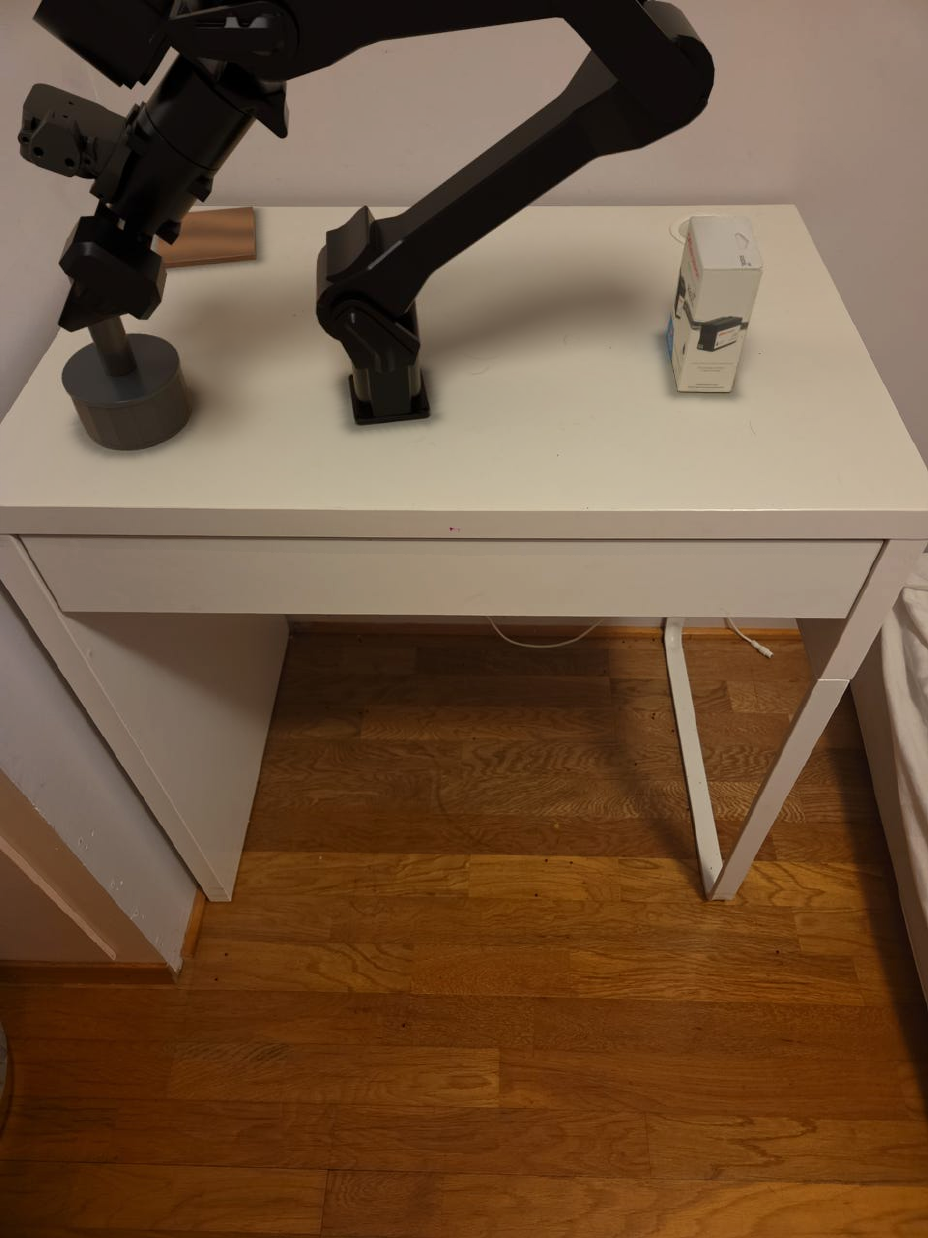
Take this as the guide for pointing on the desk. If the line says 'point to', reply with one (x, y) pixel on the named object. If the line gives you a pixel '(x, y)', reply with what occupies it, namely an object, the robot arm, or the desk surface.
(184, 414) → the bowl
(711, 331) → the ink box
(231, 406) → the desk surface
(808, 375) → the desk surface
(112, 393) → the lid
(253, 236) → the plate
